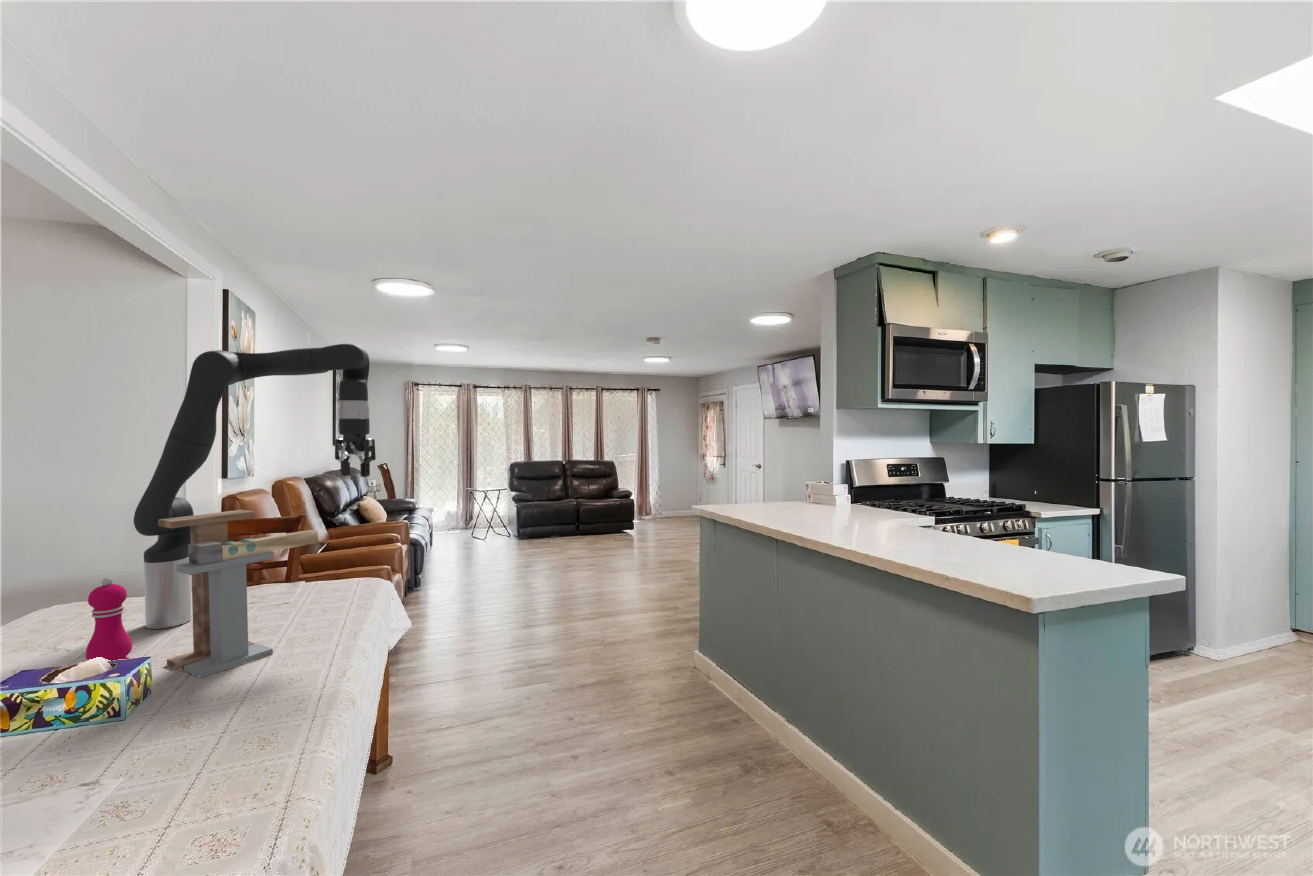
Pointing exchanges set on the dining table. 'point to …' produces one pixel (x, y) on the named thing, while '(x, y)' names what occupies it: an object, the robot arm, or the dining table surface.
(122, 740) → the dining table surface
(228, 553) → the teal-dotted wooden beam
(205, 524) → the tall stand
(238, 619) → the low stand
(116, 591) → the pepper mill
